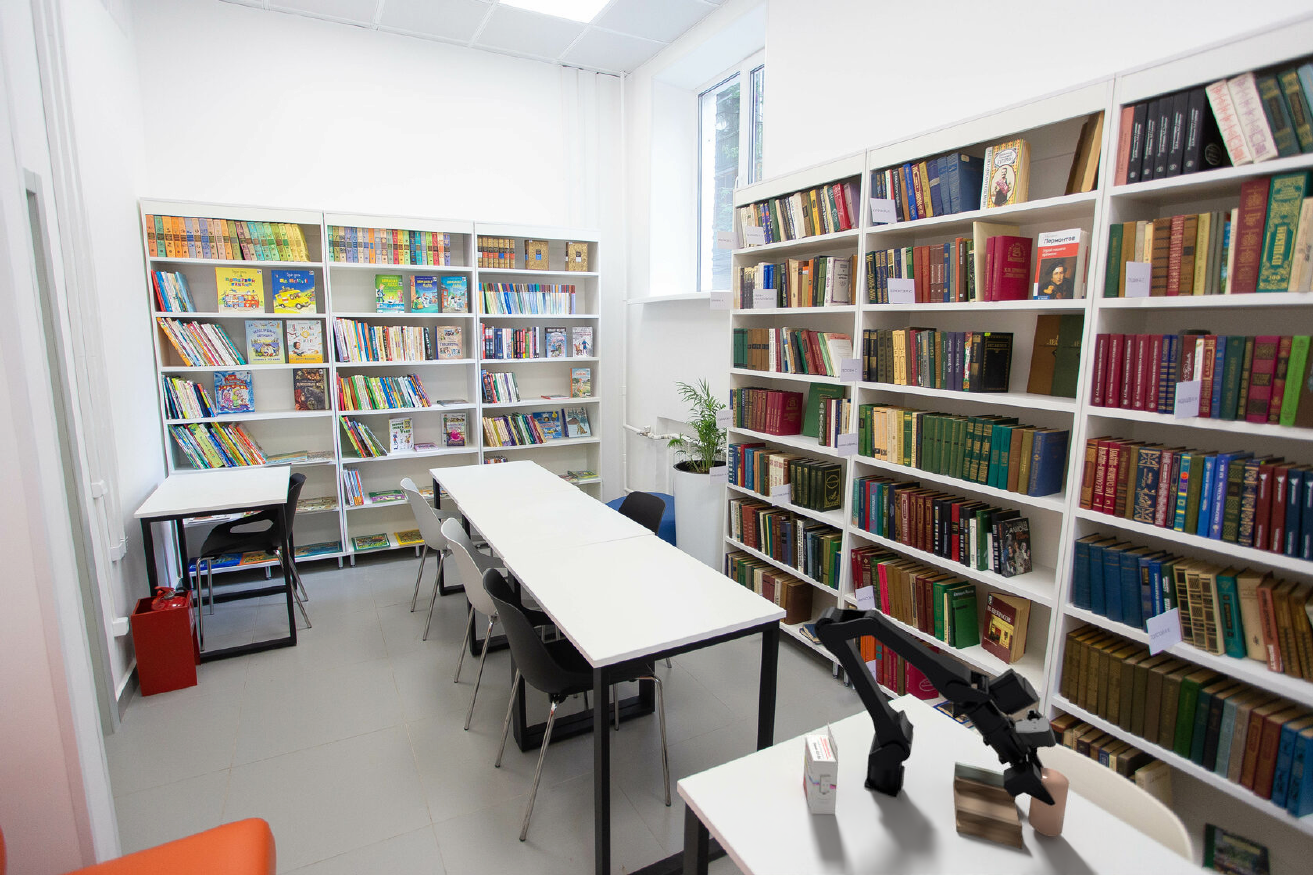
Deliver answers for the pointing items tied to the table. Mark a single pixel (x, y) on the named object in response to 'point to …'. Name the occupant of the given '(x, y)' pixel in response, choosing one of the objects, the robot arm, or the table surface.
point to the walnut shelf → (985, 805)
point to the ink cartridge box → (821, 772)
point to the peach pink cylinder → (1045, 815)
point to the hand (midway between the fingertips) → (1051, 794)
